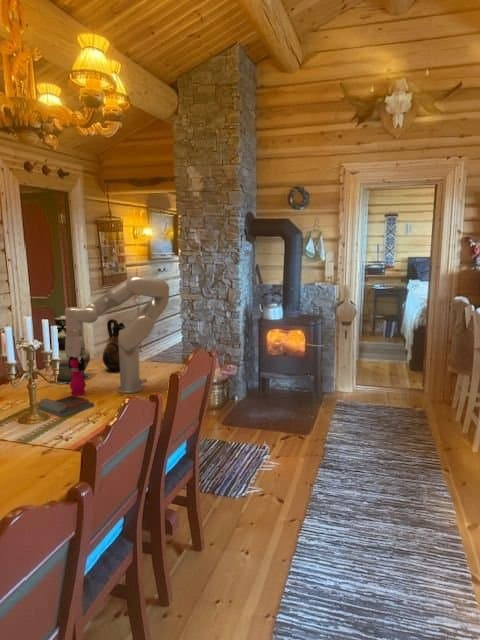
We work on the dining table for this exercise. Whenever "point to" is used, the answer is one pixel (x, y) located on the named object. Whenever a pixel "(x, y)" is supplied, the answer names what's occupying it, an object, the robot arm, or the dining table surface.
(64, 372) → the decorative urn
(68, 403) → the dark slab
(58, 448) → the dining table surface
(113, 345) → the ceramic jug
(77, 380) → the pepper mill
